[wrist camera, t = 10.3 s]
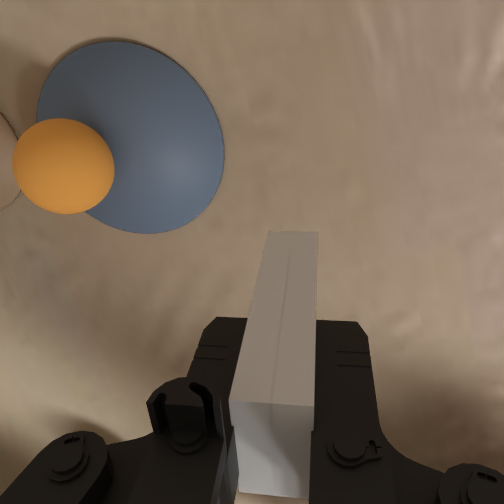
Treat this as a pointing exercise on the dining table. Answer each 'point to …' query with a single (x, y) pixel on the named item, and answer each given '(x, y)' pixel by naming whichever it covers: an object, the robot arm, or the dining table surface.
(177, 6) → the dining table surface
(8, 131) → the disc
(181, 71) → the disc
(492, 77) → the dining table surface
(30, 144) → the ball
